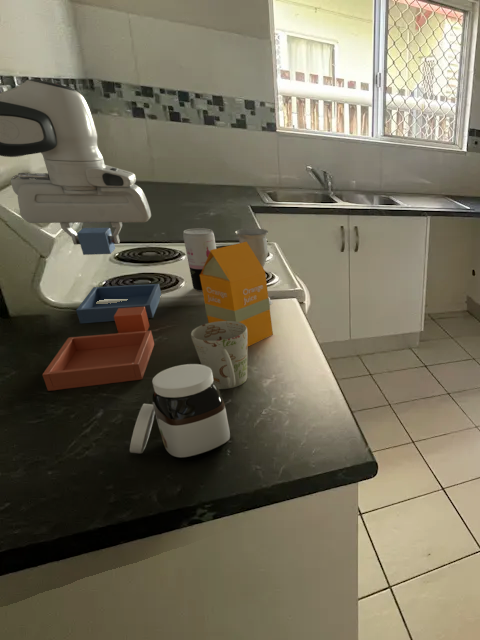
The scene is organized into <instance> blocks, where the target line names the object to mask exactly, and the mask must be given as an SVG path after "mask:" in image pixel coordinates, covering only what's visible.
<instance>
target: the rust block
mask: <svg viewBox="0 0 480 640" xmlns="http://www.w3.org/2000/svg"><path fill="white" fill-rule="evenodd" d="M114 319H115V321H114V323H115V326H116V330H117V333H127V332H139V331H149V328H150V322H149V318H148V317H147V313H146V309H145V307H132V308H118V310H117V312H116V314H115V315H114Z"/></svg>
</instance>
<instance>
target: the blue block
mask: <svg viewBox="0 0 480 640" xmlns="http://www.w3.org/2000/svg"><path fill="white" fill-rule="evenodd" d="M76 233H77V235H78V238H79V242H80V244H79V245H80V249H81V252H82V255H83V256H89V255H90V256H91V255H92V256H93V255H111V254H112V253H113V252H114V251H115V249H116V244H110V242H109V238H108V235H109V234H112V230H111V228H110V227H83V228H81V229H80V230H79V231H78V232H76Z"/></svg>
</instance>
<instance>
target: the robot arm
mask: <svg viewBox="0 0 480 640" xmlns="http://www.w3.org/2000/svg"><path fill="white" fill-rule="evenodd" d="M94 121H95V120H94V119H93V115H92V112H91V110H90V107H89V105H88V103H87V101H86V99H85V97H84V96H83V94H81V93H80V92H79V91H77V90H76V89H74V88H72V87H70V86H66V85H64V84H59V83H55V82H51V81H46V80H43V79H42V80H40V79H37V78H36V79H34V78H31V79H26V80H25V81H24V82H23V83H21V84H19V85H17V86H15V87H13V88H10V89H8V90H5V91H1V92H0V157H6V158H19V157H24V156H28V155H35V154H41V155H42V157H43V161H44V165H45V168H46V171H47V172H45V173H44V172H37V173H36V172H34V173H28V172H18V174H16V175H15V174H14V175H13V176H12V177H11V178H10V185H11V188H12V190H13V192H14V193H15V195H16V196H17V203H18V209H19V212H20V217H21V218H22V219H23V220H24V221H25V222H27V223H29V224H59V225H60V229H62V230H63V231H64V232H65V233H66V234H67V235H68V236H69V237H71V240H72V243H73V245H75V246H76V245H80V242H79V238H78V235H77V233H78V232H76V231H75V230H74V229H73V228H72V227H73V226H74V224H75V223H76V224H78V223H79V224H81V223H82V224H85V223H86V224H89V223H90V224H92V223H93V224H95V223H98V224H99V223H105V224H106V223H109V224H110V225H111V228H114V230H113V233H111V234H109V235H108V238H109V242H110V244H114V245H117V244H120V242H121V240H120V236H119V235H120V232H121V229H122V228H123V223H146V222H148V221H149V220H150V219H151V217H152V212H151V207H150V205H149V202H148V199H147V197H146V194H145V192H144V191H143V189H142V188H141V187H140V186H138V185H137V184H136V182H137V177H136V174H135V173H134V172H132V171H130V170H125V169H123V168H119V167H115V166H111V165H108V164H105V161H104V160H105V159H104V157H103V154H102V153H101V151H100V149H99V147H98V132H97V129H96V126H95V125H96V124H95V122H94Z"/></svg>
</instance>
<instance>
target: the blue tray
mask: <svg viewBox="0 0 480 640" xmlns="http://www.w3.org/2000/svg"><path fill="white" fill-rule="evenodd" d="M161 295H162V291H161V287H160V283H152V284H151V283H149V284H147V283H146V284H130V285H112V286H93V287H92V288H91V290H90V291H89V293H88V294H87V295H86V296H85V298H84V299H83V301H82V302H81V303H80V305H78V307H77V308H76V310H75V311H76V315H77V317H78V320H79V324H93V323H94V324H95V323H105V322H106V323H107V322H115V319H114V315H115V314H116V312H117V310H118V308H132V307H145V309H146V313H147V317H148V319H153V318H154V316H155V314H156V312H157V309H158V306H159V304H160V301H161V299H160V296H161ZM161 297H162V296H161ZM104 299H128V300H127V301H122V302H121V301H120V302H117V303H111V304H110V303H108V304H96V302H97V301H99V300H104Z"/></svg>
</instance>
